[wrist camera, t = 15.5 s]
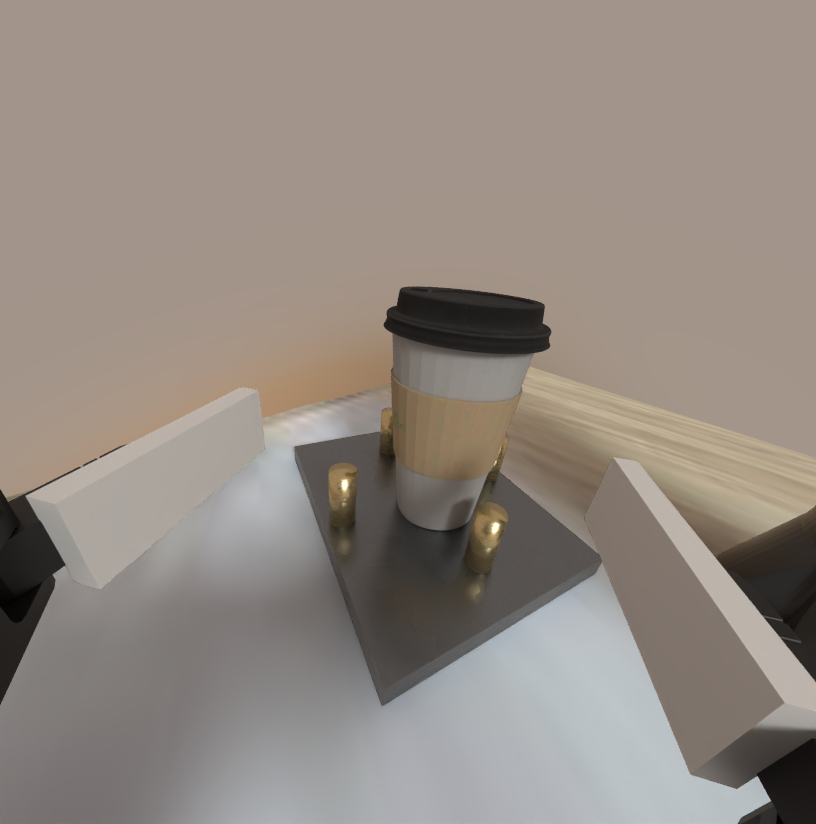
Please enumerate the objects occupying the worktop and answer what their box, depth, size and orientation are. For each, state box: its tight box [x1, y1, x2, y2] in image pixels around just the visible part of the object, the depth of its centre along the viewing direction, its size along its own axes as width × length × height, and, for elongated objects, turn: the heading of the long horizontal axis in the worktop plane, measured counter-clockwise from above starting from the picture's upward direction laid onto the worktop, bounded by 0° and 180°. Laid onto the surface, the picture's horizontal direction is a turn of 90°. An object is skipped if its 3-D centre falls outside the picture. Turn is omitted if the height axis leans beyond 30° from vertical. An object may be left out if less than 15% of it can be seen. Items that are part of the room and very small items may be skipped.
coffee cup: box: [384, 287, 551, 531], centre depth 21 cm, size 9×9×15 cm
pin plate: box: [295, 408, 602, 706], centre depth 24 cm, size 20×16×6 cm
